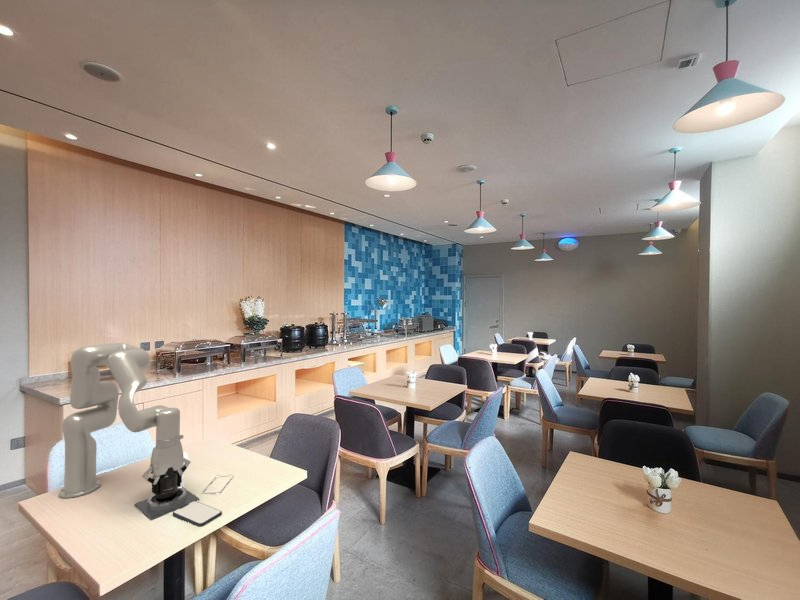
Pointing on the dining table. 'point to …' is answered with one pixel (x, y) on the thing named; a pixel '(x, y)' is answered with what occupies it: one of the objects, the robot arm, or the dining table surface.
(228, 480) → the phone case
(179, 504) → the ring collar
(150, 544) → the dining table surface
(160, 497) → the supplement bottle
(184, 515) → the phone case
